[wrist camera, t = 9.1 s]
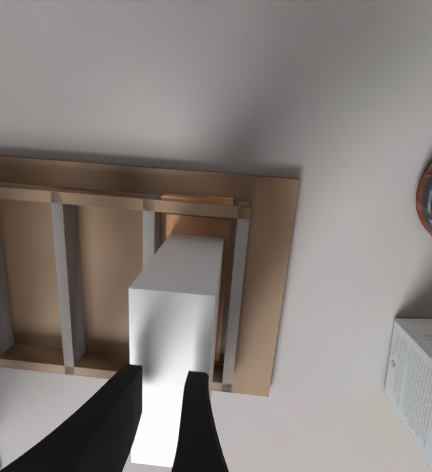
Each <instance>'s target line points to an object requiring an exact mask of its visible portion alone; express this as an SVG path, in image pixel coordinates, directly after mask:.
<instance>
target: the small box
mask: <svg viewBox="0 0 432 472" xmlns="http://www.w3.org/2000/svg"><path fill="white" fill-rule="evenodd" d="M384 393H385V395H386V397H387V399H388V400H389V402H390V403H391V405H392V407H393V408H394V410H395V412H396V413H397V415H398V416H399V418H400V420H401V421H402V423H403V424H404V426H405V428H406V429H407V431H408V433H409V434H410V436H411V438H412V439H413V441H414V442H415V444H416V445H417V447H418V449H419V450H420V452H421V454H422V455H423V457H424V459H425V460H426V462H427V463H428V465H429V467H430V468H431V470H432V319H401V318H396V319H395V321H394V328H393V335H392V341H391V348H390V356H389V362H388V369H387V376H386V382H385V389H384Z"/></svg>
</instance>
